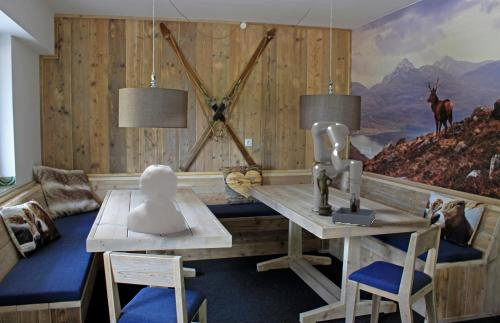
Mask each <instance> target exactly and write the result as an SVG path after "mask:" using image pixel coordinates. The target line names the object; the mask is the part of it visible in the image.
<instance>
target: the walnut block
mask: <svg viewBox="0 0 500 323" xmlns="http://www.w3.org/2000/svg"><path fill="white" fill-rule="evenodd" d="M354 200H355V199H354ZM349 202H350V203H349V208H350V213H355V214H359V213H360V209H361V198H360V199H359V200H357V203H356V206H357V212H351V204H352V199H351V200H349ZM354 202H355V201H354Z"/></svg>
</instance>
